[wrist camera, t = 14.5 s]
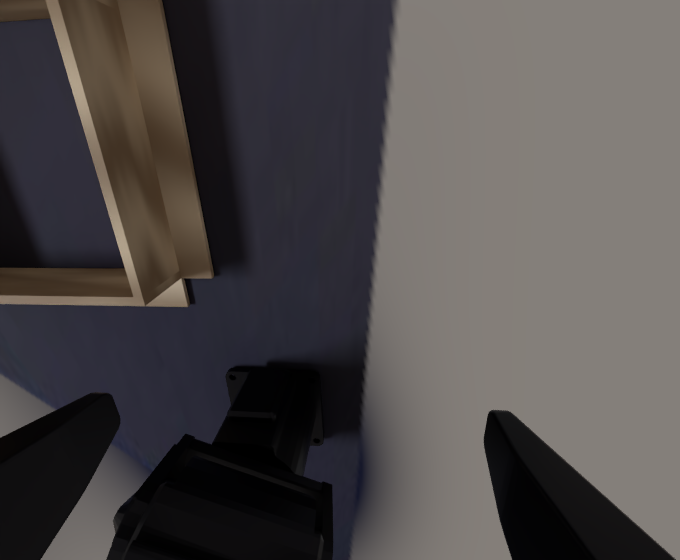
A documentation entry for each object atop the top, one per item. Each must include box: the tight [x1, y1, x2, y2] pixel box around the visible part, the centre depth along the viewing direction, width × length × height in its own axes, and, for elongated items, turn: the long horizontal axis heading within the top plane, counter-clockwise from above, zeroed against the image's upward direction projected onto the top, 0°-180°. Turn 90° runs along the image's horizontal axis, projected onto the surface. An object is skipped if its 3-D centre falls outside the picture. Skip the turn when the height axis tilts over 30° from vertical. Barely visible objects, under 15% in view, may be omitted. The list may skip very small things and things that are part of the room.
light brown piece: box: [0, 0, 214, 307], centre depth 18 cm, size 18×18×4 cm
